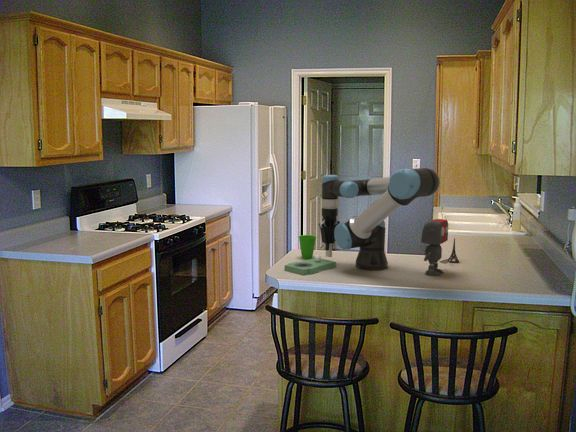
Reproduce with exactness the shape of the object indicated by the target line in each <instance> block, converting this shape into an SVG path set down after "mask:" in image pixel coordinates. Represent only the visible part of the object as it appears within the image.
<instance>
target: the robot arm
mask: <svg viewBox="0 0 576 432" xmlns="http://www.w3.org/2000/svg"><path fill="white" fill-rule="evenodd" d="M321 178H322V179H321V180H322V181H321V217H322V221H321V222H320V223H318V226H319V230H320V237H321V242H322V243H323V244H324V245H325V246H324V250H325V257H326V258H327V257H328V258H333V249H334V248H333V246H334V245H333V244H335V243H336V245H337V246H338V247H339V248H340V249H342V250H350V249H355V248H359V250H358V253H357V256H356V259H355V267H356V268H358V269H361V270H368V271H381V270H385V269H387V268H388V266H389V261H388V259H387V254H386V252H385V251H386V249H385V247H386V246H385V245H386V244H385V243H386V222H385V220H386V219H387V218H388V217H389V216H390V215H392V214H393V213H395V212H396V210H398V208H399V209H400V207H401V206H408V205H410V203H412V202H414V200H415V199H417V198H422V197H423V198H424V197H429V196H432V195H434V194H435V193H436V192H437V191H438V189H439V187H440V184H441V182H440V176H439V175H438V173H437V172H436V171H435V170H433V169H431V168H426V167H421V168H420V167H419V168H402V169H397V170H396V171H395V172H393V173H392V175H391V176H386V177H375V178H367V179H356V180H355V179H353V180H340V179H339V175H337V174H325V175H323V176H322V177H321ZM377 195H380V196H379V197H378V198H377V199H376V200H374V201H373V202H372V203H371V204H370V205H369V206H367V208H366V209H364V210H363V211H362V212H361V213H360V214H359V215H354V216H352V217H350V218H349V219H348V220H347V221H346V222H342V223H341V221H340V220H338V219H337V216H338V214H339V213H338V212H339V211H338V206H339V197H340V198H345V199H353V198H356V197H362V196H363V197H364V196H365V197H366V196H377Z"/></svg>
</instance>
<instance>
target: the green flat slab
mask: <svg viewBox="0 0 576 432" xmlns="http://www.w3.org/2000/svg"><path fill="white" fill-rule="evenodd" d="M314 258H315V257H314ZM314 258H313V257H312V259H304V260H301V261H293V262H289V263H287V264H285V265H284V271H285V272H290V273H293V274H297V275H301V276H306V275H313V274H316V273H320V272H321V271H322V272H323V271H326V270H329V269H333V268H336V267H337V261H333V260H330V259H325V258H321V261H319V262H316V261H315V259H314Z"/></svg>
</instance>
